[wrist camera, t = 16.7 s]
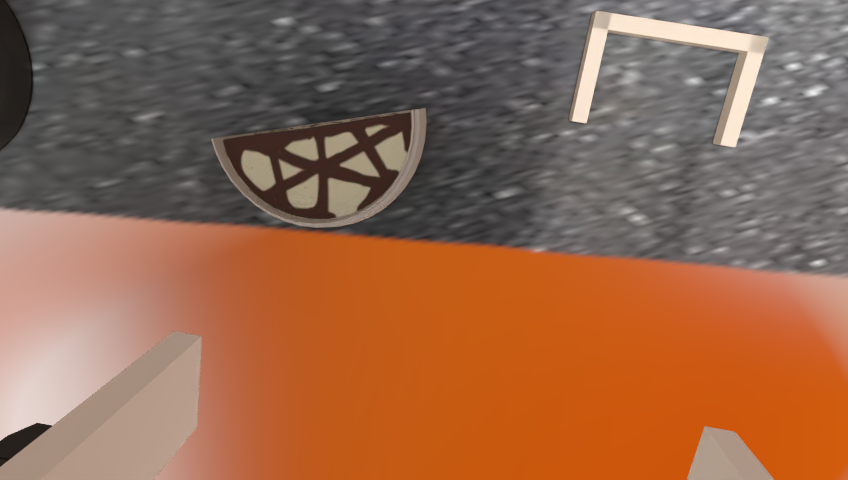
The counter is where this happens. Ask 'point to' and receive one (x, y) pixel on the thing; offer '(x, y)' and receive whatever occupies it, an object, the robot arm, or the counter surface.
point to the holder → (677, 33)
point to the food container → (326, 167)
